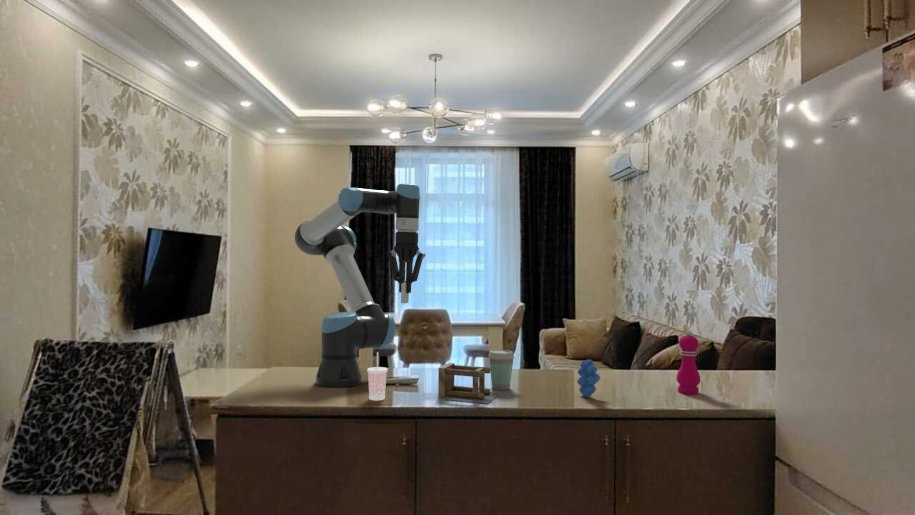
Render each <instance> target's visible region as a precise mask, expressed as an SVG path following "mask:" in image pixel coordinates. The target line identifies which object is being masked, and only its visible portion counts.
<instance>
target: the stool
mask: <svg viewBox="0 0 915 515" xmlns="http://www.w3.org/2000/svg"><path fill="white" fill-rule="evenodd" d="M485 374H491V372H490V367H487V366H476V365H475V366H474V365H473V366H472V365H460V364H459V365H458V364H455V362H447V363H445V364H444V365H441V366H440V367H438V387H437V388H438V389H437V390H438V391H437V392H438V394H437V397H438V398H442V399H444V398H445V397H447V396H451V397H461V398H472V399H482V400H483V399H484V394H486V395H490V392H491V388H486V387H485V386H486V385H485V380H486V379H485V378H486V376H485ZM455 376H458V377H459V376H460V377H471V378H472V386H462V385H460V386H459V385H455Z"/></svg>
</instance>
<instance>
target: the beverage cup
mask: <svg viewBox="0 0 915 515" xmlns="http://www.w3.org/2000/svg"><path fill="white" fill-rule="evenodd" d="M388 369H389V368H388V367H383V366H379V351H377V352H376V366H372V367H368V368H367V369H366V370H367V371H366V372H367V376H368V379H367V380H368V400H371V401H383V400H385V399H386V388H387V387H386V384H387V373H388V371H389V370H388Z"/></svg>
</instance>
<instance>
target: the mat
mask: <svg viewBox="0 0 915 515" xmlns="http://www.w3.org/2000/svg"><path fill="white" fill-rule="evenodd" d="M500 395H501V392H495V391H490V395H486V394H484V399H483V400H482V399H472V398H461V397H451V396H446V397H445V398H442V400H443V401H452V402H462V403H471V404H482V405H489V404H490V403H492V402H493V401H494V400H495V399H496V398H497V397H498V396H500Z"/></svg>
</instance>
